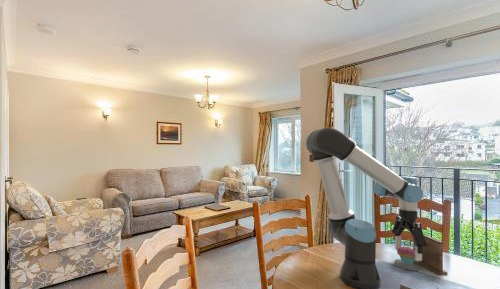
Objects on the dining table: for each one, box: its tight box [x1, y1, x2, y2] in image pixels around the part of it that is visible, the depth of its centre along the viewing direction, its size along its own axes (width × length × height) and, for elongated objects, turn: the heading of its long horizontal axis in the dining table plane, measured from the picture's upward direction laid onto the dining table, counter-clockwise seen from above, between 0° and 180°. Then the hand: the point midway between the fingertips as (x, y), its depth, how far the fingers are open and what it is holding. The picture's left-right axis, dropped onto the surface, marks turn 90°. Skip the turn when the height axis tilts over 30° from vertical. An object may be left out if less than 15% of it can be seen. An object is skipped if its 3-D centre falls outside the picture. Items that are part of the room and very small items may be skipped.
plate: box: [394, 258, 423, 272], centre depth 122 cm, size 11×11×1 cm
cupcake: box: [396, 239, 415, 265], centre depth 123 cm, size 9×8×12 cm
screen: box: [412, 234, 448, 276], centre depth 122 cm, size 5×17×14 cm, turn 6°
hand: (407, 254), depth 122 cm, fingers open, 13 cm apart
